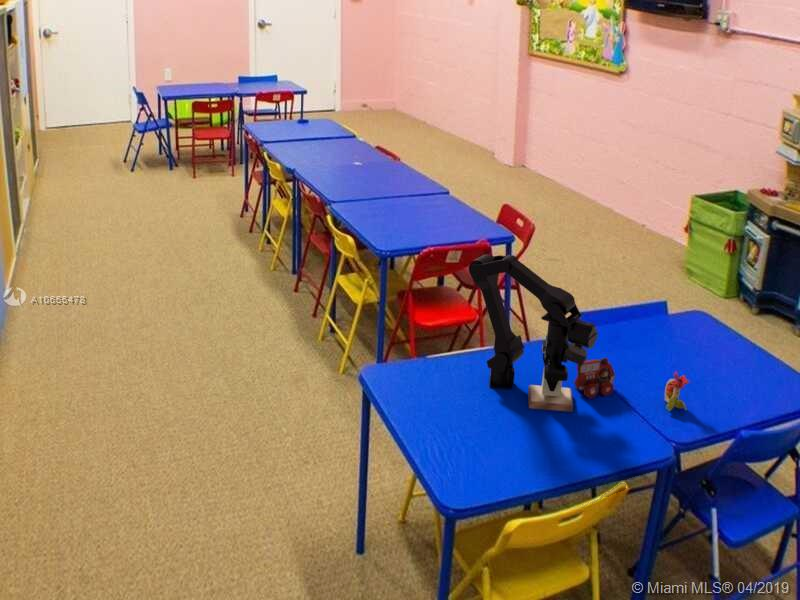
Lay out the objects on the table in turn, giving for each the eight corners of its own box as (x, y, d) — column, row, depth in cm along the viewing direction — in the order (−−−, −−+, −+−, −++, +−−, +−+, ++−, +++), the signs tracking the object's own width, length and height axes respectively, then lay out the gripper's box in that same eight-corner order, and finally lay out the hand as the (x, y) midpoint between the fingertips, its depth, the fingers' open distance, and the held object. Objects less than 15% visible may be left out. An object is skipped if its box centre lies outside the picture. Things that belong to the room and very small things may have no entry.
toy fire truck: (618, 393, 244) (623, 362, 240) (581, 400, 240) (585, 368, 236) (605, 382, 250) (610, 351, 246) (568, 388, 246) (572, 357, 242)
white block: (542, 394, 236) (544, 375, 233) (541, 385, 240) (543, 366, 238) (560, 396, 235) (562, 376, 233) (559, 387, 240) (561, 367, 237)
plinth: (528, 408, 236) (529, 400, 235) (528, 391, 244) (529, 384, 243) (572, 411, 235) (573, 404, 234) (570, 394, 243) (571, 387, 242)
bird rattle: (655, 408, 241) (669, 413, 232) (654, 369, 241) (669, 373, 232) (676, 407, 242) (691, 412, 233) (675, 368, 242) (690, 372, 233)
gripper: (590, 355, 221) (583, 406, 228) (584, 324, 238) (578, 372, 245) (547, 352, 223) (541, 402, 229) (544, 321, 239) (539, 369, 246)
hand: (551, 386), depth 237 cm, fingers closed on white block, 5 cm apart
